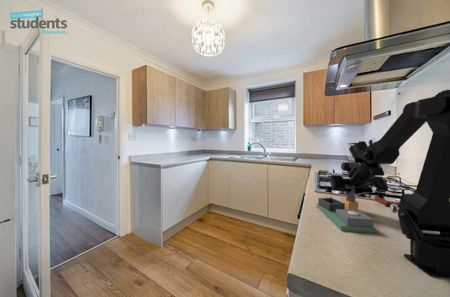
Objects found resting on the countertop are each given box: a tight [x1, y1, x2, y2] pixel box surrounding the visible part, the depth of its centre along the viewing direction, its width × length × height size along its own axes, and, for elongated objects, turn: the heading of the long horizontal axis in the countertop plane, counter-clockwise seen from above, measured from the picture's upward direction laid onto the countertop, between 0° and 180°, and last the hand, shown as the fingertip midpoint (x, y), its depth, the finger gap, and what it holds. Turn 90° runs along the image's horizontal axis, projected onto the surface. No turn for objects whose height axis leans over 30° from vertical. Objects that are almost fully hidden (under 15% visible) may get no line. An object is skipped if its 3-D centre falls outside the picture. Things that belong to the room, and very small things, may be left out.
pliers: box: [374, 195, 400, 212], centre depth 76 cm, size 12×20×3 cm, turn 142°
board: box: [316, 203, 377, 234], centre depth 64 cm, size 21×10×2 cm, turn 171°
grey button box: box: [336, 209, 375, 227], centre depth 58 cm, size 8×8×3 cm
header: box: [317, 197, 345, 211], centre depth 70 cm, size 7×6×3 cm
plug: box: [342, 187, 359, 210], centre depth 71 cm, size 4×4×12 cm
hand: (348, 193), depth 73 cm, fingers closed on plug, 3 cm apart
